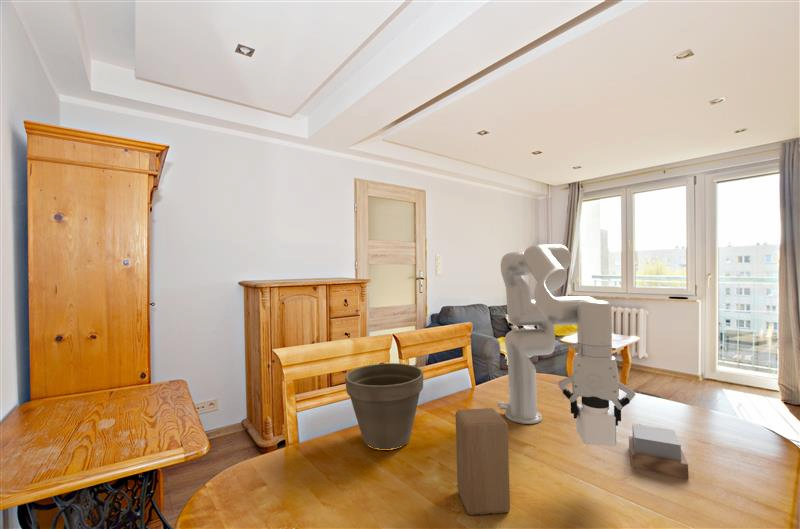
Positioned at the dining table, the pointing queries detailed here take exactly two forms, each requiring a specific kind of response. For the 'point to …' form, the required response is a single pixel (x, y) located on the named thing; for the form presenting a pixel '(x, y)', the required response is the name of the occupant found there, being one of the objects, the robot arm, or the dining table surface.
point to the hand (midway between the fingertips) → (595, 419)
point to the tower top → (656, 442)
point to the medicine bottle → (596, 422)
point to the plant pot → (385, 402)
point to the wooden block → (482, 461)
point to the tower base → (658, 463)
